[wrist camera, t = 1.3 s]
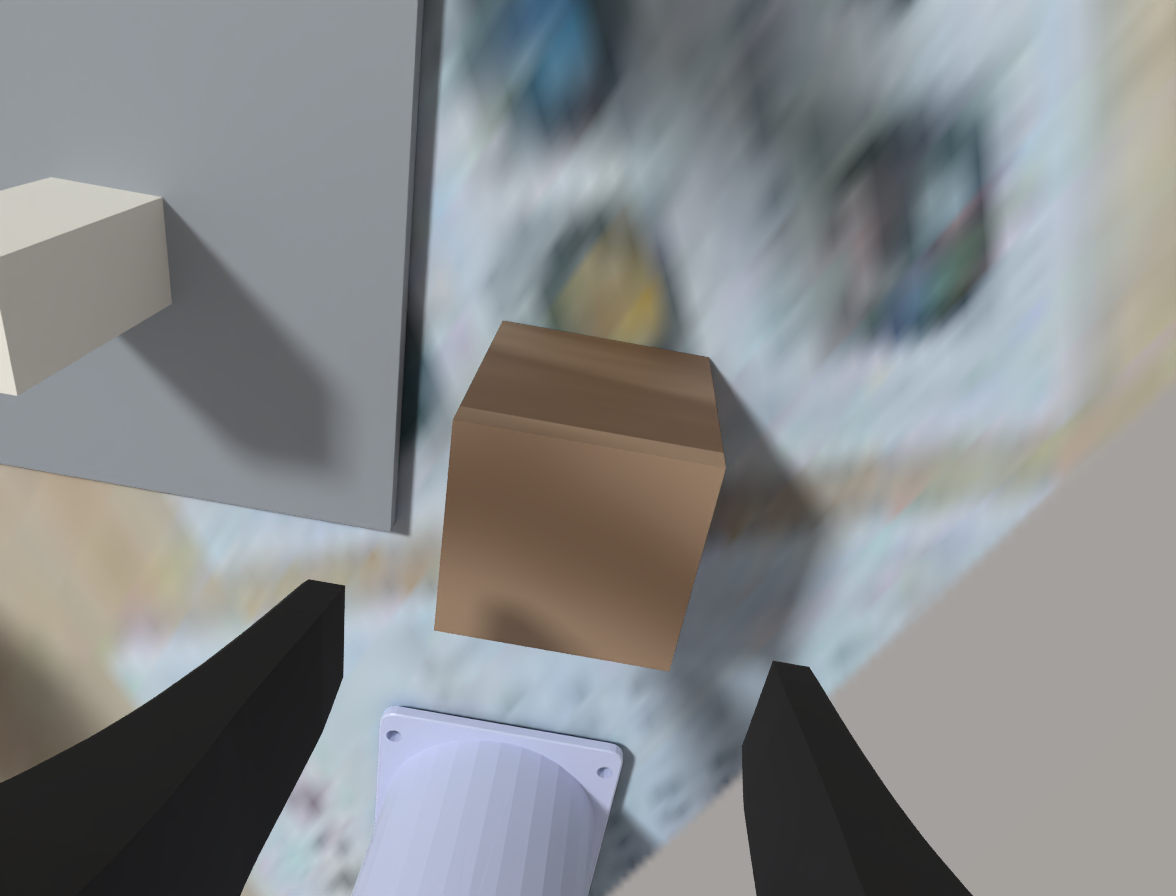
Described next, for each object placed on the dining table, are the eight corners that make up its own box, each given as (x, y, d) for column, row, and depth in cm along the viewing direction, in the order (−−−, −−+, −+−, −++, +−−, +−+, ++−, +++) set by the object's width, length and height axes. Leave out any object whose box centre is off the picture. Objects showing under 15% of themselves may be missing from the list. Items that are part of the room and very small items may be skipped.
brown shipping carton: (666, 528, 23) (669, 671, 18) (482, 496, 23) (434, 630, 18) (709, 357, 20) (726, 468, 15) (502, 320, 20) (452, 419, 15)
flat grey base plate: (395, 522, 23) (318, 672, 18) (-91, 437, 23) (-312, 562, 18) (426, -41, 17) (318, -68, 11) (-257, -166, 16) (-689, -252, 11)
